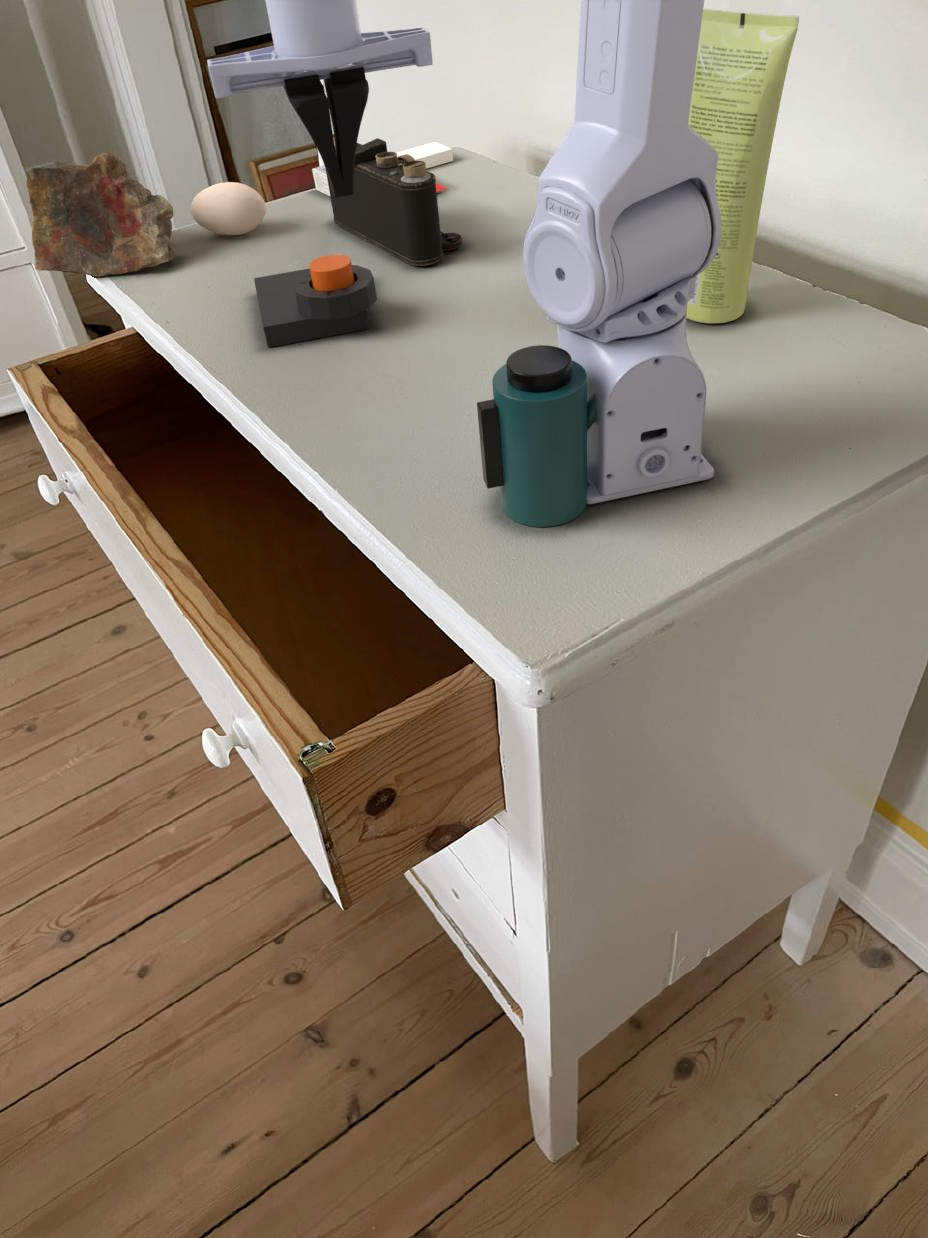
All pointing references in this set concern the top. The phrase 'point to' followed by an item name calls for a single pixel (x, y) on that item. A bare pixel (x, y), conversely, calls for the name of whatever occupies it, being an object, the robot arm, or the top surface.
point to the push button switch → (312, 306)
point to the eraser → (430, 154)
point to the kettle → (538, 436)
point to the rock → (97, 219)
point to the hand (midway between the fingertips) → (342, 191)
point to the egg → (228, 208)
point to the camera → (394, 206)
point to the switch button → (331, 272)
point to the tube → (737, 141)
